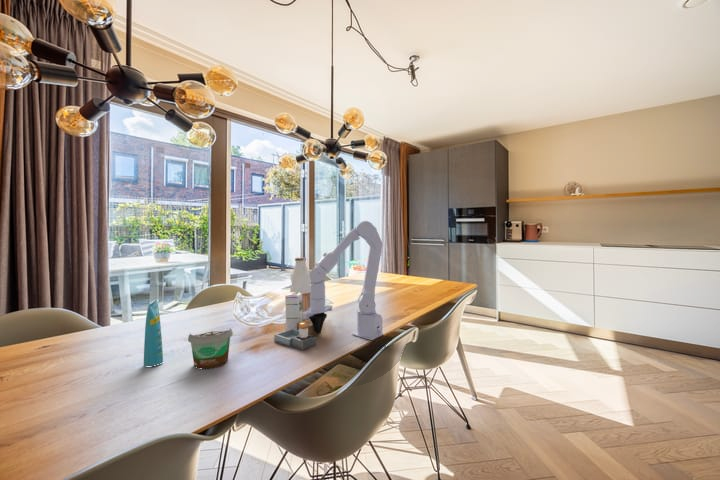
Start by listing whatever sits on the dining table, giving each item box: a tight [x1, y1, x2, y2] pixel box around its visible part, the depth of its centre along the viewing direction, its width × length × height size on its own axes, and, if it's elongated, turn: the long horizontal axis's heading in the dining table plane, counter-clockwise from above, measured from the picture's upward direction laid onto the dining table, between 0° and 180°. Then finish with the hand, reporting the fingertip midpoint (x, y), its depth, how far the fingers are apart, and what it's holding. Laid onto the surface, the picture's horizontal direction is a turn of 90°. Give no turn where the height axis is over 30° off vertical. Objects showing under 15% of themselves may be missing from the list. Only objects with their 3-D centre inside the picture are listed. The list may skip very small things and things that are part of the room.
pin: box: [299, 322, 308, 340], centre depth 105 cm, size 3×3×8 cm
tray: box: [273, 329, 299, 347], centre depth 110 cm, size 8×8×2 cm
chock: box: [297, 318, 318, 336], centre depth 119 cm, size 7×6×4 cm
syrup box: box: [284, 292, 303, 331], centre depth 124 cm, size 6×6×14 cm
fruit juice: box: [289, 257, 311, 321], centre depth 139 cm, size 9×9×28 cm
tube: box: [143, 298, 164, 367], centre depth 90 cm, size 7×5×19 cm, turn 26°
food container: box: [187, 327, 234, 370], centre depth 89 cm, size 12×6×10 cm, turn 117°
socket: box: [290, 334, 317, 351], centre depth 105 cm, size 6×6×3 cm
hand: (317, 332), depth 115 cm, fingers closed
